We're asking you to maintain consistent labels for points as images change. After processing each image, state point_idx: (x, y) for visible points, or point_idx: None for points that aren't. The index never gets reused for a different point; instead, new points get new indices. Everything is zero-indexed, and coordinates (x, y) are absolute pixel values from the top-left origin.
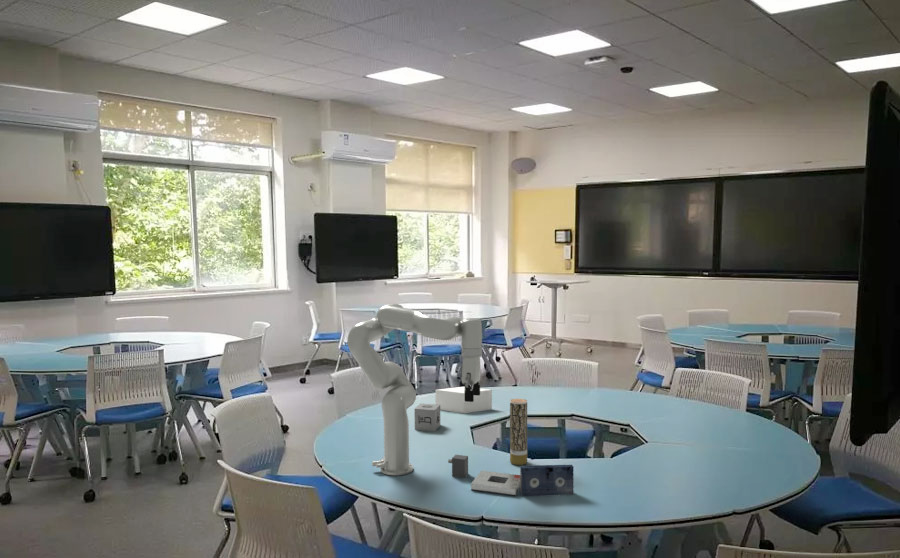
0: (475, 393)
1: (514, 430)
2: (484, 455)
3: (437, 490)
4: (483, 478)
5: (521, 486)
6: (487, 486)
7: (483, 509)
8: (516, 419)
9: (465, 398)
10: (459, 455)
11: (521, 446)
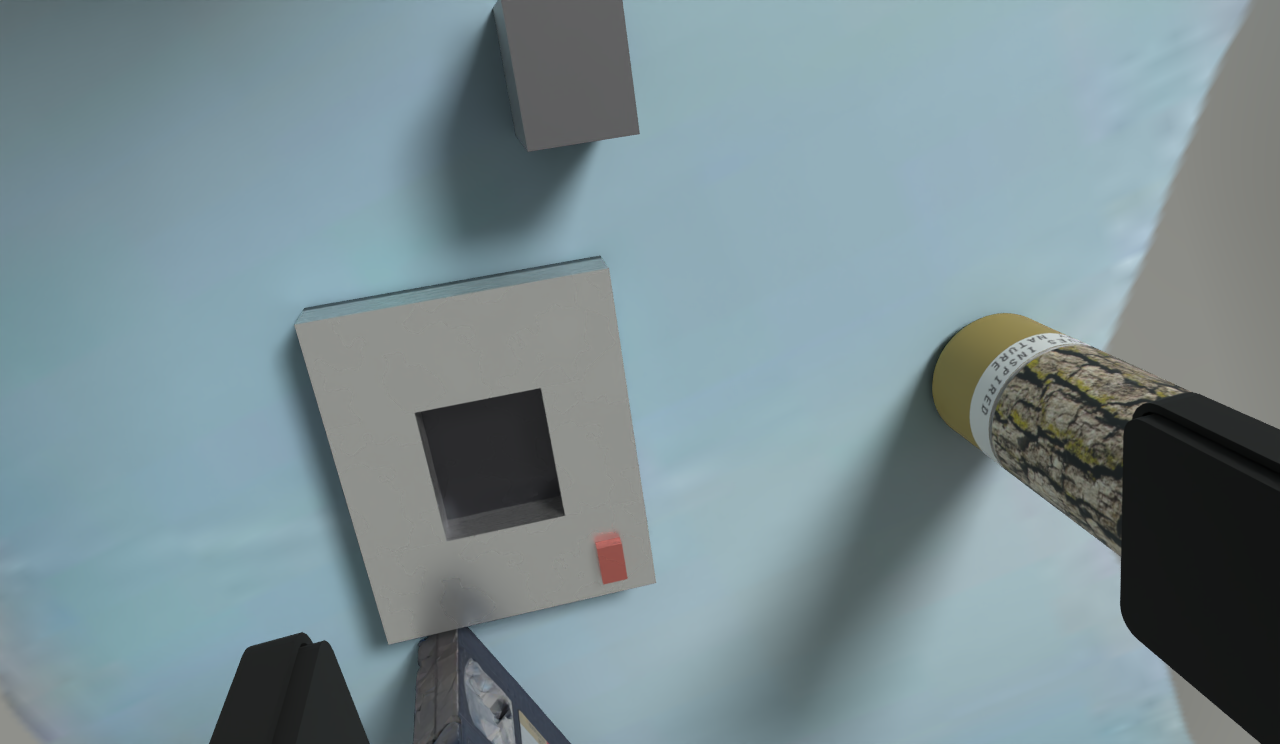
0: (1162, 548)
1: (1119, 495)
2: (1067, 50)
3: (120, 42)
4: (452, 362)
5: (417, 682)
6: (333, 453)
7: (50, 542)
8: None
9: (231, 734)
10: (614, 37)
11: (1024, 480)
